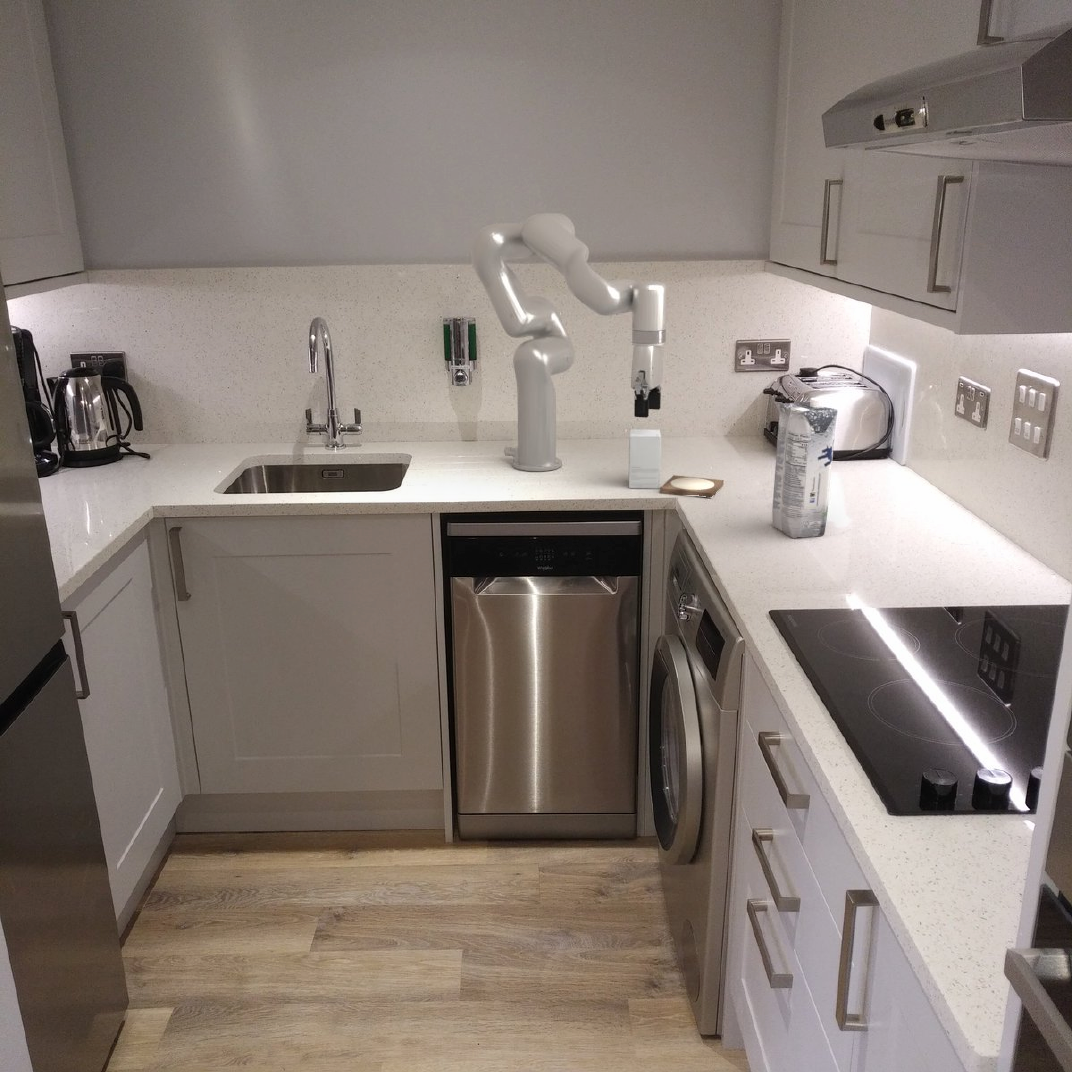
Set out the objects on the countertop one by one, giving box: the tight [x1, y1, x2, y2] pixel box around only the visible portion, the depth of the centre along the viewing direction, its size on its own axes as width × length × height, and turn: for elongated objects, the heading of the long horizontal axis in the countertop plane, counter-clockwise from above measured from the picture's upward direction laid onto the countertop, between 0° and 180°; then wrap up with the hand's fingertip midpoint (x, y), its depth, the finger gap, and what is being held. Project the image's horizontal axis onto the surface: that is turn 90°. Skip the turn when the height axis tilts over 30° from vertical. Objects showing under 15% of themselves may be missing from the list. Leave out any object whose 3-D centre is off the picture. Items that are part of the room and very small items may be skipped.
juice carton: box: [771, 397, 838, 539], centre depth 201 cm, size 9×10×27 cm
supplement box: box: [628, 428, 662, 490], centre depth 237 cm, size 7×7×13 cm
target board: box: [659, 474, 724, 497], centre depth 235 cm, size 12×12×1 cm
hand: (647, 413), depth 233 cm, fingers open, 9 cm apart
